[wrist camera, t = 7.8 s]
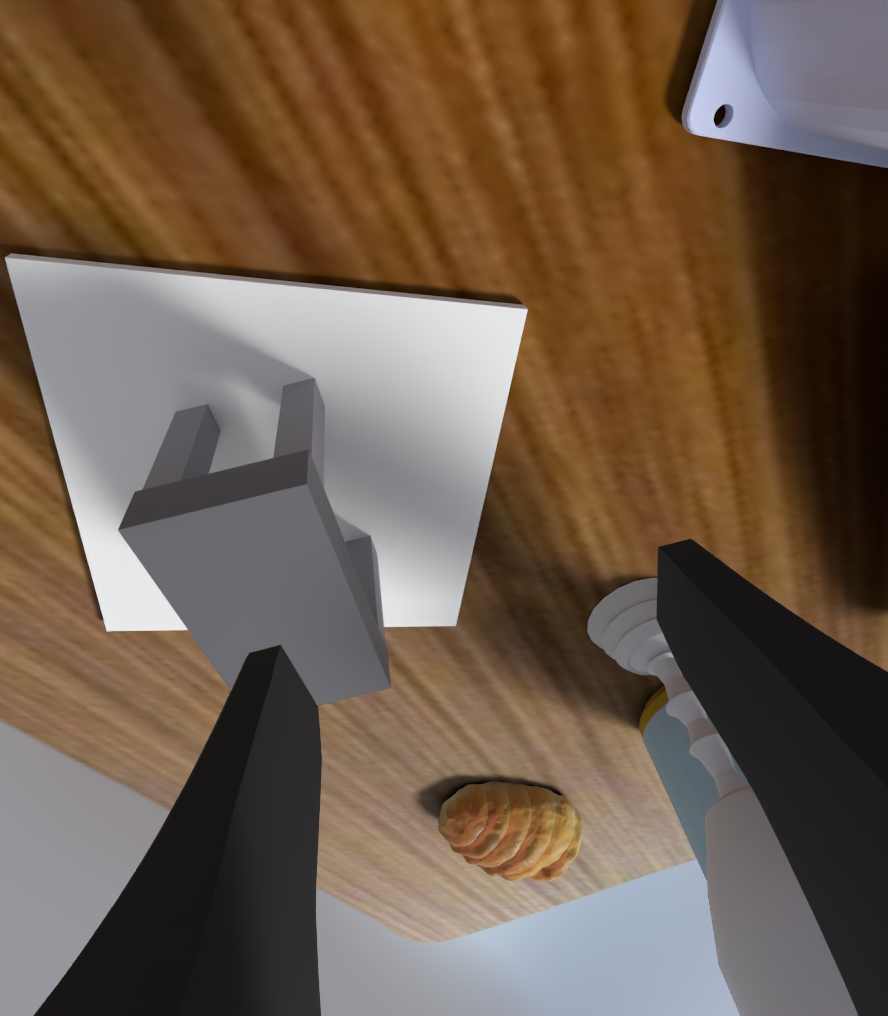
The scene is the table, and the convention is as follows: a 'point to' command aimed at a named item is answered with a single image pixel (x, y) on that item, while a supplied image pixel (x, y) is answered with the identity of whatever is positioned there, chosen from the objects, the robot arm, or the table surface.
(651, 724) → the bottle
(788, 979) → the chalice
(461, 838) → the pastry
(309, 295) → the mat
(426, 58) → the table surface
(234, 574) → the stool
